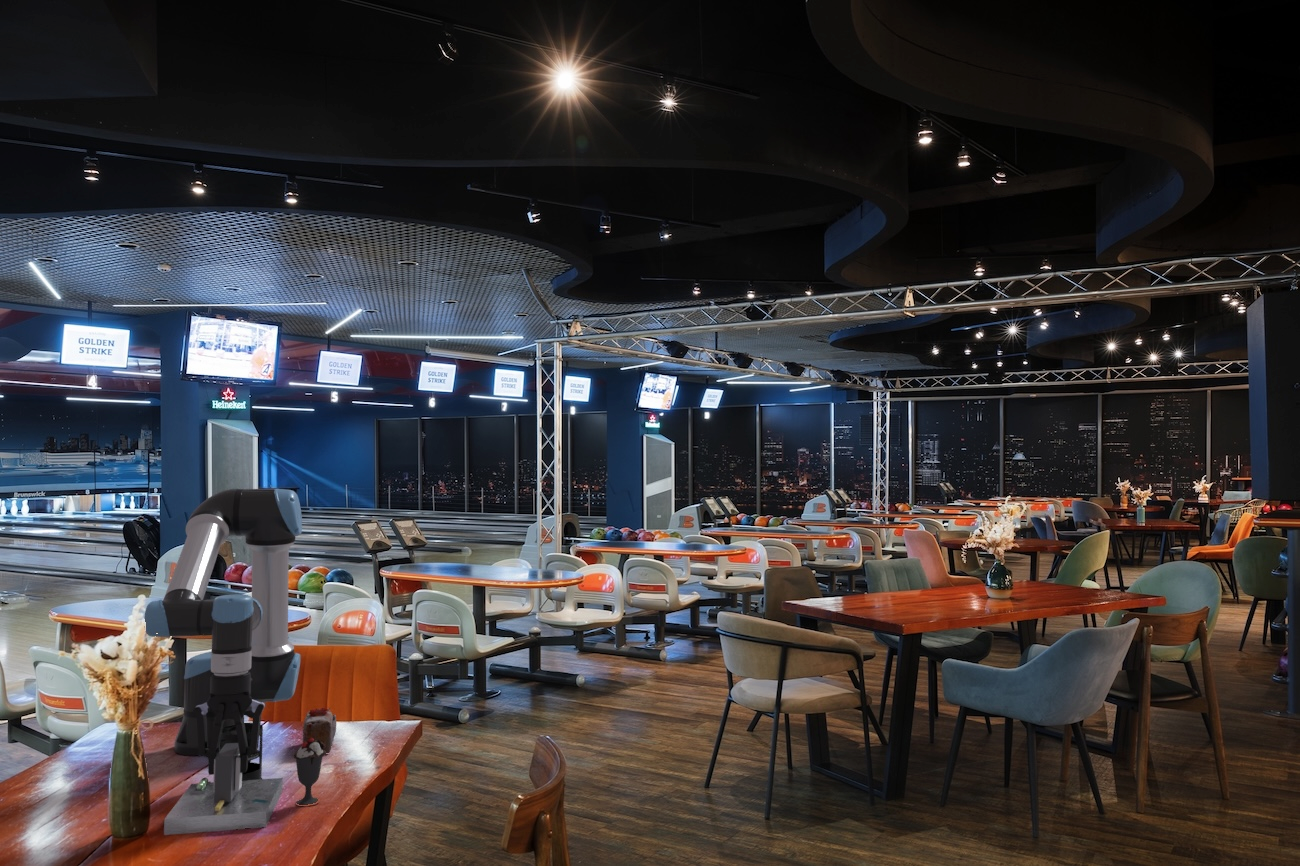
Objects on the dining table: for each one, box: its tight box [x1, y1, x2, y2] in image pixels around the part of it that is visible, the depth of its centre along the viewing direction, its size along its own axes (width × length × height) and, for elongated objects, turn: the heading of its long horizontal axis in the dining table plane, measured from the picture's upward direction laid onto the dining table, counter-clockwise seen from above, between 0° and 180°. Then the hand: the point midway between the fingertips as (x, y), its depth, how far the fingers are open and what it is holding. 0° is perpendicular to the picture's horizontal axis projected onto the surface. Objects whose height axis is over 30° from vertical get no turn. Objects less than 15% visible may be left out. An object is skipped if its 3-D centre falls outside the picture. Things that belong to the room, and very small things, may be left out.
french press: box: [217, 678, 264, 781], centre depth 202 cm, size 12×9×23 cm
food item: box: [302, 707, 337, 754], centre depth 228 cm, size 14×8×10 cm, turn 19°
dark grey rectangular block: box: [214, 743, 240, 811], centre depth 182 cm, size 14×3×9 cm, turn 13°
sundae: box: [291, 732, 326, 805], centre depth 190 cm, size 7×7×15 cm
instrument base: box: [163, 777, 284, 836], centre depth 184 cm, size 20×18×5 cm
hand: (227, 789), depth 184 cm, fingers open, 3 cm apart
